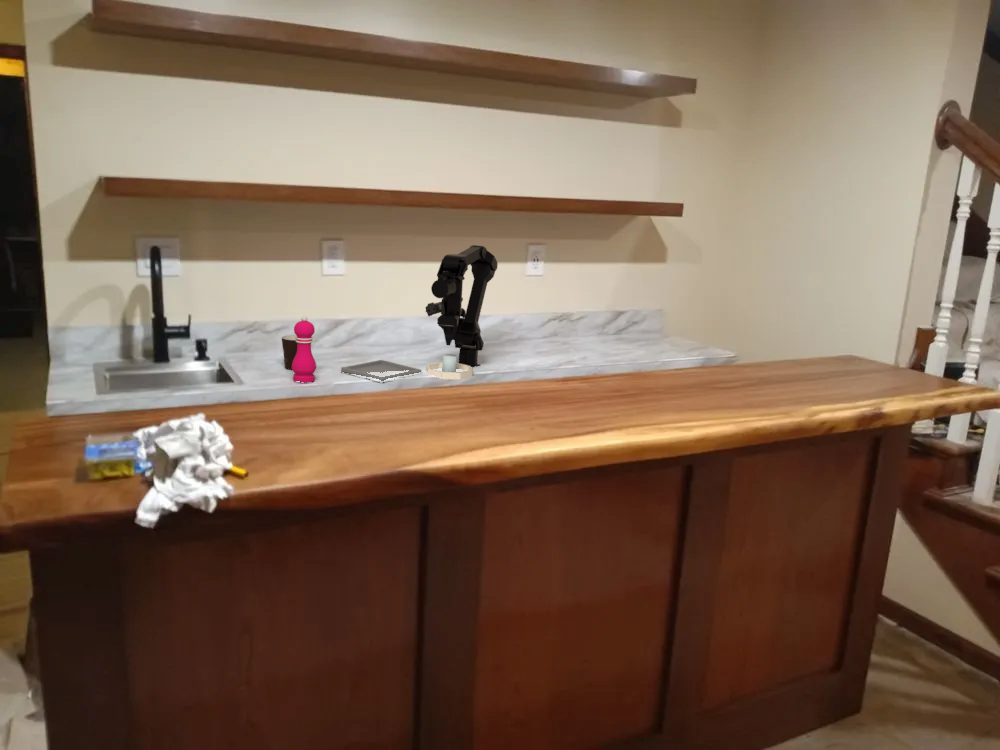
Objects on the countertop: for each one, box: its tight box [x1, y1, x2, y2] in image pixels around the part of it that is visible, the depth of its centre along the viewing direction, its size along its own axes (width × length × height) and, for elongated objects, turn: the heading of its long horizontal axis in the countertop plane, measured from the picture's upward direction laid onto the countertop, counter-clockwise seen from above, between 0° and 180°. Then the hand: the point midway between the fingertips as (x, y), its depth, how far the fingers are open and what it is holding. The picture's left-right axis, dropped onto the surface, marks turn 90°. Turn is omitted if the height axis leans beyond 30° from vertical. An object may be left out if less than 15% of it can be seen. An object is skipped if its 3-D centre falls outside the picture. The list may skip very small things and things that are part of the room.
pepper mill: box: [291, 315, 317, 383], centre depth 238 cm, size 7×7×20 cm
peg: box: [442, 353, 458, 372], centre depth 259 cm, size 4×4×6 cm
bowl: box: [425, 361, 474, 380], centre depth 259 cm, size 15×15×2 cm
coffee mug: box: [281, 334, 297, 371], centre depth 255 cm, size 12×9×10 cm
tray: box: [340, 359, 422, 381], centre depth 255 cm, size 18×18×2 cm
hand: (450, 342), depth 257 cm, fingers open, 9 cm apart
